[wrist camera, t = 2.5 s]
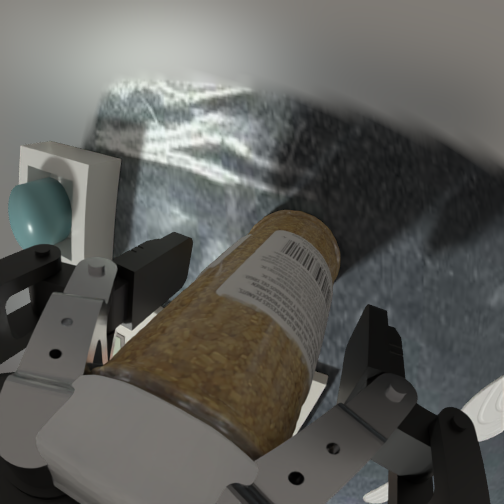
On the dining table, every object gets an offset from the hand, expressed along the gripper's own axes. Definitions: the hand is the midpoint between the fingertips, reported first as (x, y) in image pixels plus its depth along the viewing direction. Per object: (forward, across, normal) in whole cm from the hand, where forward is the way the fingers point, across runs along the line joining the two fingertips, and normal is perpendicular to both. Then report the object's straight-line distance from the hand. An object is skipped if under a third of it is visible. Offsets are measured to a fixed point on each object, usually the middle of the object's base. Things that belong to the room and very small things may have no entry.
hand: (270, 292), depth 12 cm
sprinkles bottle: (+4, 0, 0) cm, 4 cm away
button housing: (+4, +14, +1) cm, 14 cm away
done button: (+2, +14, +1) cm, 14 cm away
